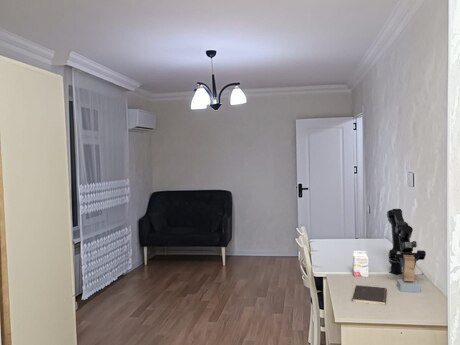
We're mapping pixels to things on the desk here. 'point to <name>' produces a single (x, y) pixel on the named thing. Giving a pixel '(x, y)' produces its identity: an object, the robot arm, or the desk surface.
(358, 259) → the ink cartridge box
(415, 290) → the slate plinth
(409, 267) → the walnut post
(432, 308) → the desk surface
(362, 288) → the hardcover book
